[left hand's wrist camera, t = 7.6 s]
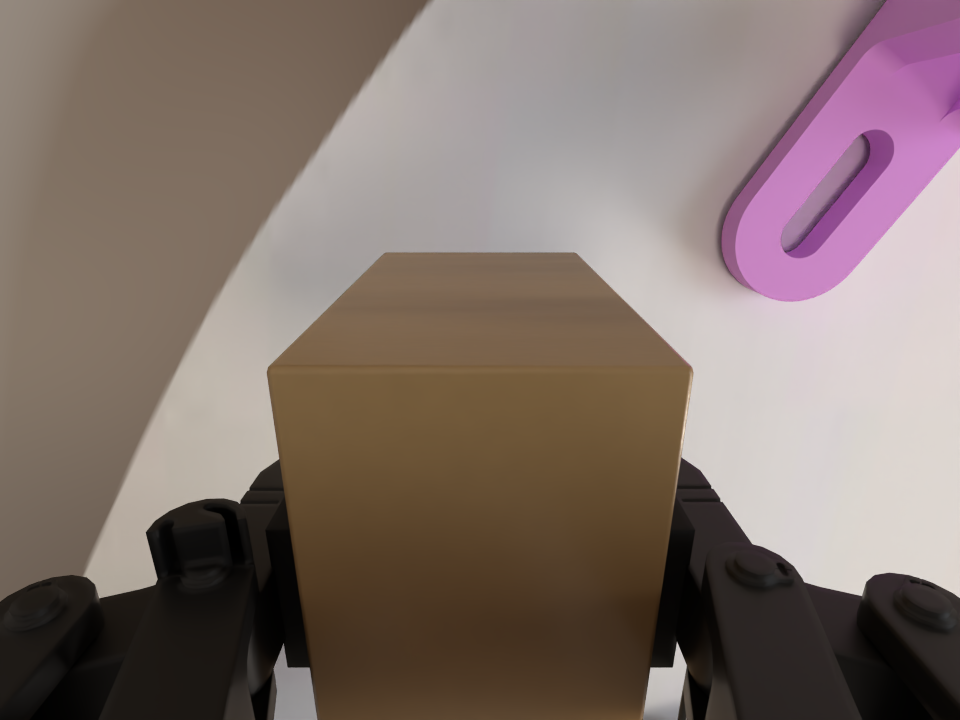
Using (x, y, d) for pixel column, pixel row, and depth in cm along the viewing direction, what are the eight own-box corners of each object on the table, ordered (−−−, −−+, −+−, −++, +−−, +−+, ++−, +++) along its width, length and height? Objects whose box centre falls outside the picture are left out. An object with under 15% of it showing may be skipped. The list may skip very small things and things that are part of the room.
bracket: (920, -45, 20) (1129, -141, 14) (1019, 45, 21) (1257, -5, 15) (695, 251, 24) (775, 285, 18) (788, 316, 25) (896, 371, 19)
